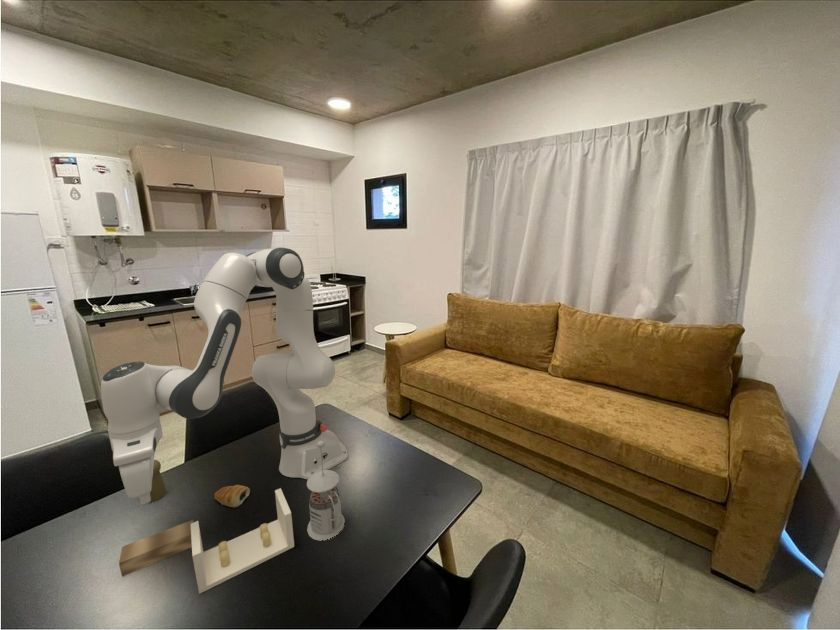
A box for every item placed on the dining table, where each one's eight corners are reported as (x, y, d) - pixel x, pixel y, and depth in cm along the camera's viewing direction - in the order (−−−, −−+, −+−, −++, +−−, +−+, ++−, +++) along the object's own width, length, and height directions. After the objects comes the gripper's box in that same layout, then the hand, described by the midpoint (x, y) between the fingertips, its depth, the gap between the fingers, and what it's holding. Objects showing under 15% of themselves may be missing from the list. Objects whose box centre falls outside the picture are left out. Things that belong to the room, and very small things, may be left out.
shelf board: (195, 532, 89) (193, 519, 88) (195, 546, 85) (193, 533, 84) (125, 560, 81) (122, 546, 80) (122, 577, 77) (118, 563, 76)
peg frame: (283, 519, 92) (280, 488, 90) (294, 546, 84) (291, 512, 82) (196, 558, 81) (190, 523, 79) (199, 593, 73) (192, 556, 71)
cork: (153, 505, 97) (147, 471, 95) (136, 501, 98) (129, 468, 96) (172, 490, 103) (166, 458, 100) (156, 487, 104) (149, 455, 102)
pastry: (208, 505, 98) (206, 493, 97) (225, 488, 104) (224, 477, 103) (237, 509, 96) (236, 498, 95) (253, 492, 102) (251, 481, 102)
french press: (333, 504, 98) (328, 426, 92) (356, 529, 90) (352, 444, 84) (300, 524, 91) (293, 441, 85) (322, 552, 83) (315, 462, 77)
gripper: (124, 419, 82) (134, 469, 85) (111, 464, 66) (124, 524, 69) (156, 412, 86) (165, 460, 89) (152, 453, 69) (163, 510, 72)
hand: (147, 489), depth 79 cm, fingers open, 8 cm apart
